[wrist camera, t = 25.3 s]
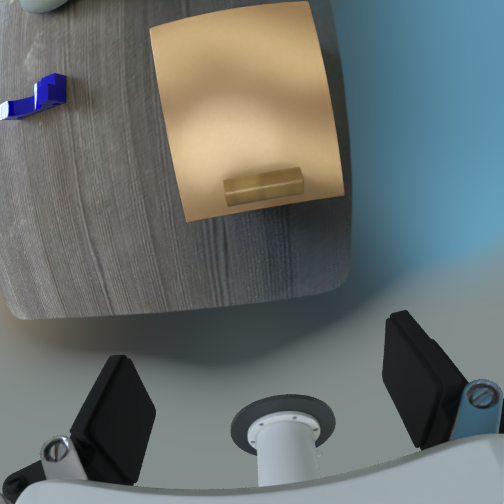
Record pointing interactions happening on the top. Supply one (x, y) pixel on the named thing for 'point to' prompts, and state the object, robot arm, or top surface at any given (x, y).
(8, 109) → the cable holder
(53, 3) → the air freshener
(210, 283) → the top surface
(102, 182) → the top surface
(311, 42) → the lid
